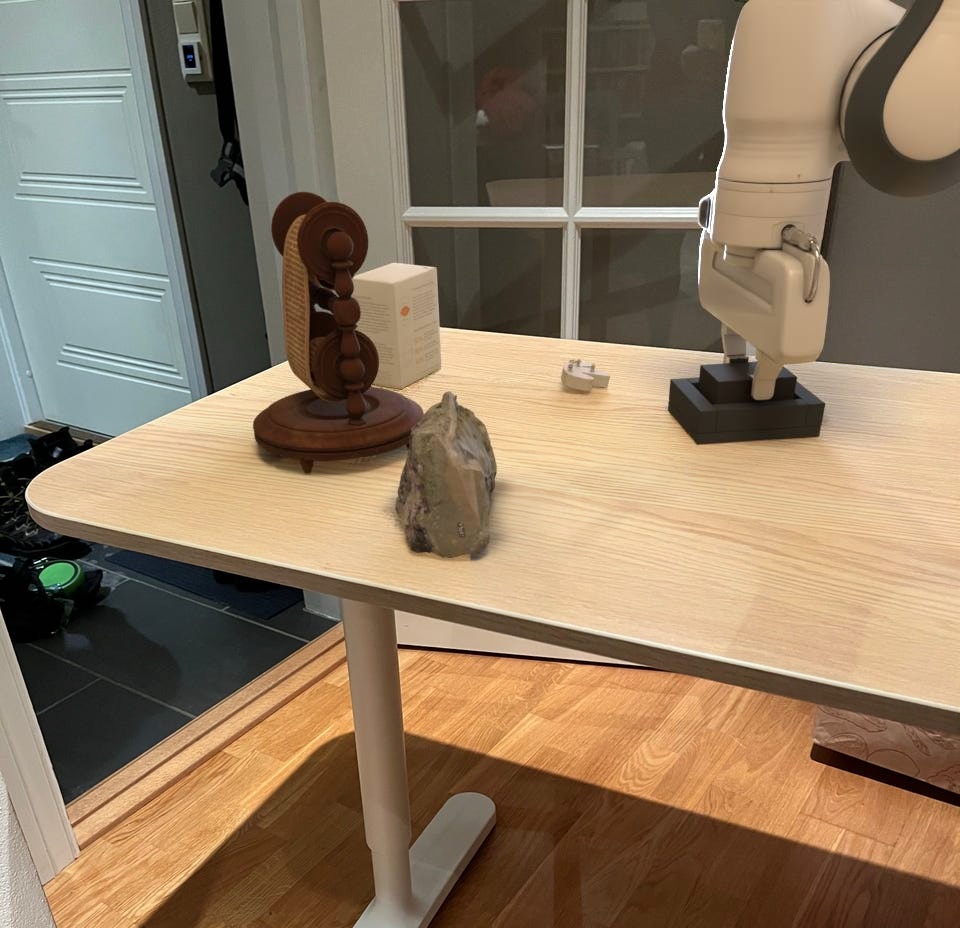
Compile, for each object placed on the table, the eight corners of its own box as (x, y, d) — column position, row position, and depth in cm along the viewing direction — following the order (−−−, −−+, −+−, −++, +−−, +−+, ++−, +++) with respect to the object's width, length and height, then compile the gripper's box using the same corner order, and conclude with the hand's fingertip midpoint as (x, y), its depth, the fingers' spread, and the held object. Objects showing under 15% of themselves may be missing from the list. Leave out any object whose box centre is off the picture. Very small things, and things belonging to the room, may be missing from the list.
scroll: (237, 434, 85) (196, 194, 74) (387, 406, 91) (369, 179, 80) (286, 491, 74) (246, 219, 63) (453, 455, 80) (442, 199, 69)
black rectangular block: (770, 392, 86) (775, 360, 84) (792, 410, 82) (797, 376, 80) (696, 397, 86) (700, 364, 84) (714, 415, 81) (718, 381, 80)
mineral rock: (462, 475, 76) (457, 351, 71) (571, 508, 70) (575, 376, 65) (348, 533, 68) (333, 397, 62) (461, 575, 62) (455, 430, 57)
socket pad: (780, 403, 89) (785, 371, 87) (819, 436, 81) (825, 403, 80) (667, 410, 88) (670, 378, 86) (696, 445, 81) (700, 411, 79)
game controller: (616, 392, 93) (617, 366, 91) (503, 404, 91) (502, 377, 89) (598, 375, 97) (599, 349, 96) (490, 386, 96) (489, 360, 94)
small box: (400, 362, 103) (393, 261, 97) (443, 369, 101) (438, 265, 95) (356, 382, 97) (346, 276, 92) (400, 390, 95) (392, 282, 89)
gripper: (865, 237, 67) (830, 423, 74) (760, 196, 84) (741, 351, 91) (779, 241, 66) (753, 428, 74) (692, 200, 83) (678, 355, 91)
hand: (746, 385), depth 83 cm, fingers closed on black rectangular block, 5 cm apart
